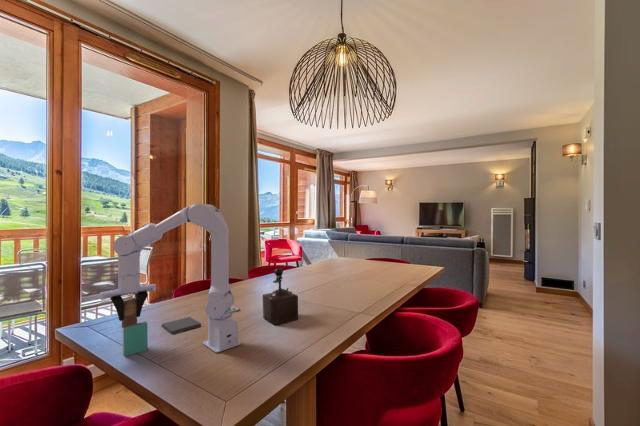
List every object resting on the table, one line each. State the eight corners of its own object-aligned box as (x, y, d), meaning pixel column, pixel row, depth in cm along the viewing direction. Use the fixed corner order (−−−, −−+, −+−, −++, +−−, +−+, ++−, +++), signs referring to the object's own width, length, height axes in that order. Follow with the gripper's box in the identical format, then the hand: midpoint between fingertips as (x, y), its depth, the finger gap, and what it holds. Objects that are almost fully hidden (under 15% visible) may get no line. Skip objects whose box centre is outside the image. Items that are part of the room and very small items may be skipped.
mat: (200, 326, 107) (200, 323, 107) (171, 334, 100) (171, 331, 100) (189, 319, 114) (189, 316, 114) (161, 326, 107) (161, 323, 107)
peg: (138, 325, 92) (138, 299, 92) (123, 329, 89) (123, 302, 89) (135, 322, 95) (135, 297, 95) (120, 325, 92) (120, 300, 92)
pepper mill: (300, 319, 112) (300, 272, 112) (274, 326, 106) (274, 276, 106) (281, 309, 125) (280, 266, 125) (256, 314, 118) (256, 269, 119)
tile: (147, 349, 89) (147, 322, 89) (124, 356, 84) (123, 328, 84) (146, 347, 90) (145, 321, 90) (122, 354, 85) (122, 326, 85)
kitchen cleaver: (210, 298, 141) (231, 294, 145) (210, 300, 141) (232, 296, 145) (215, 314, 118) (240, 309, 123) (215, 317, 118) (240, 312, 123)
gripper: (151, 269, 100) (151, 309, 100) (98, 276, 89) (98, 320, 89) (157, 272, 95) (158, 314, 95) (102, 279, 84) (102, 327, 84)
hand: (129, 318), depth 92 cm, fingers closed on peg, 4 cm apart
